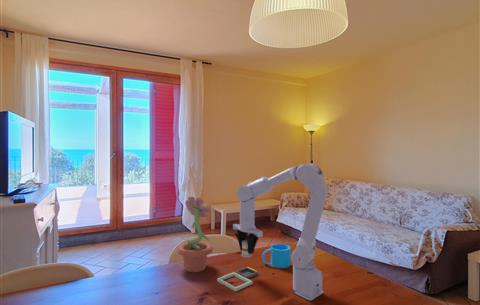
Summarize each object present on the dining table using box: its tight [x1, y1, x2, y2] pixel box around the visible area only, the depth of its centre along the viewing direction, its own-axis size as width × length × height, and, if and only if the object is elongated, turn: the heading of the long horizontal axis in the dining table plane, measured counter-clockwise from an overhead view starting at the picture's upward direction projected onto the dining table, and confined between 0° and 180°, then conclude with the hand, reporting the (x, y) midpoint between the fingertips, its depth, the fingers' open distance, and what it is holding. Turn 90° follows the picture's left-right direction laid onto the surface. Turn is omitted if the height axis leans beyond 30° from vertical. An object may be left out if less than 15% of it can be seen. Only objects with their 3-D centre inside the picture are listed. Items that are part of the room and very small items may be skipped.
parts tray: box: [216, 271, 253, 292], centre depth 100 cm, size 10×8×2 cm
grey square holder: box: [235, 266, 259, 280], centre depth 107 cm, size 6×6×2 cm
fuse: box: [241, 239, 253, 259], centre depth 107 cm, size 4×4×6 cm
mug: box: [261, 243, 291, 269], centre depth 117 cm, size 12×8×8 cm
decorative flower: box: [177, 196, 213, 273], centre depth 113 cm, size 15×14×30 cm
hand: (247, 251), depth 107 cm, fingers closed on fuse, 4 cm apart
